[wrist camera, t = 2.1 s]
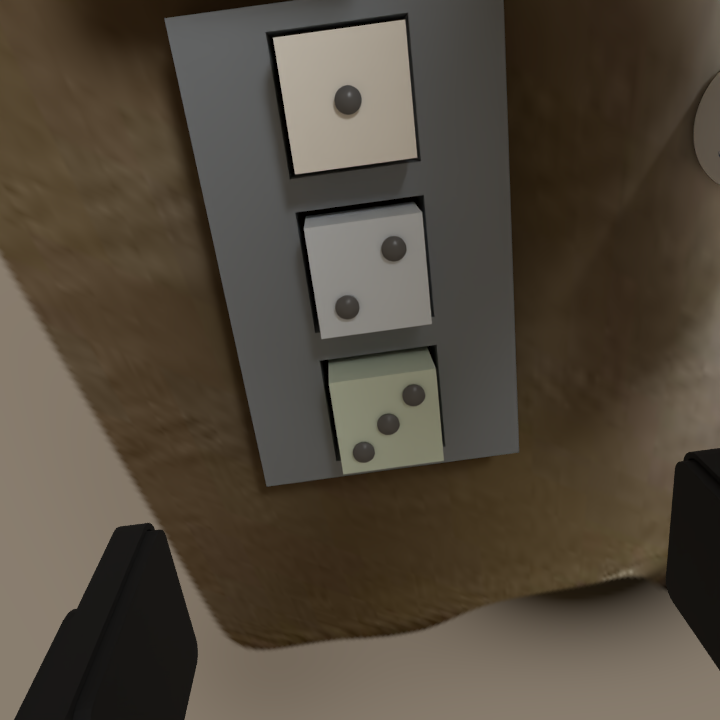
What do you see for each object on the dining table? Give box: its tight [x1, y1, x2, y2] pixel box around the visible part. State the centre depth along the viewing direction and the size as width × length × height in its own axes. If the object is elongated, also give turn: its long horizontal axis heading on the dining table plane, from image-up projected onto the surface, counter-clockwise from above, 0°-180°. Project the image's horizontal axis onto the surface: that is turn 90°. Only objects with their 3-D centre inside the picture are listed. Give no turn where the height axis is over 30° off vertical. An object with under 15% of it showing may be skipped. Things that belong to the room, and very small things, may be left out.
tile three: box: [328, 346, 444, 474], centre depth 33 cm, size 5×5×3 cm
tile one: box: [273, 20, 417, 174], centre depth 27 cm, size 5×5×3 cm
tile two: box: [304, 202, 432, 339], centre depth 30 cm, size 5×5×3 cm
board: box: [164, 0, 519, 487], centre depth 32 cm, size 14×23×2 cm, turn 7°
